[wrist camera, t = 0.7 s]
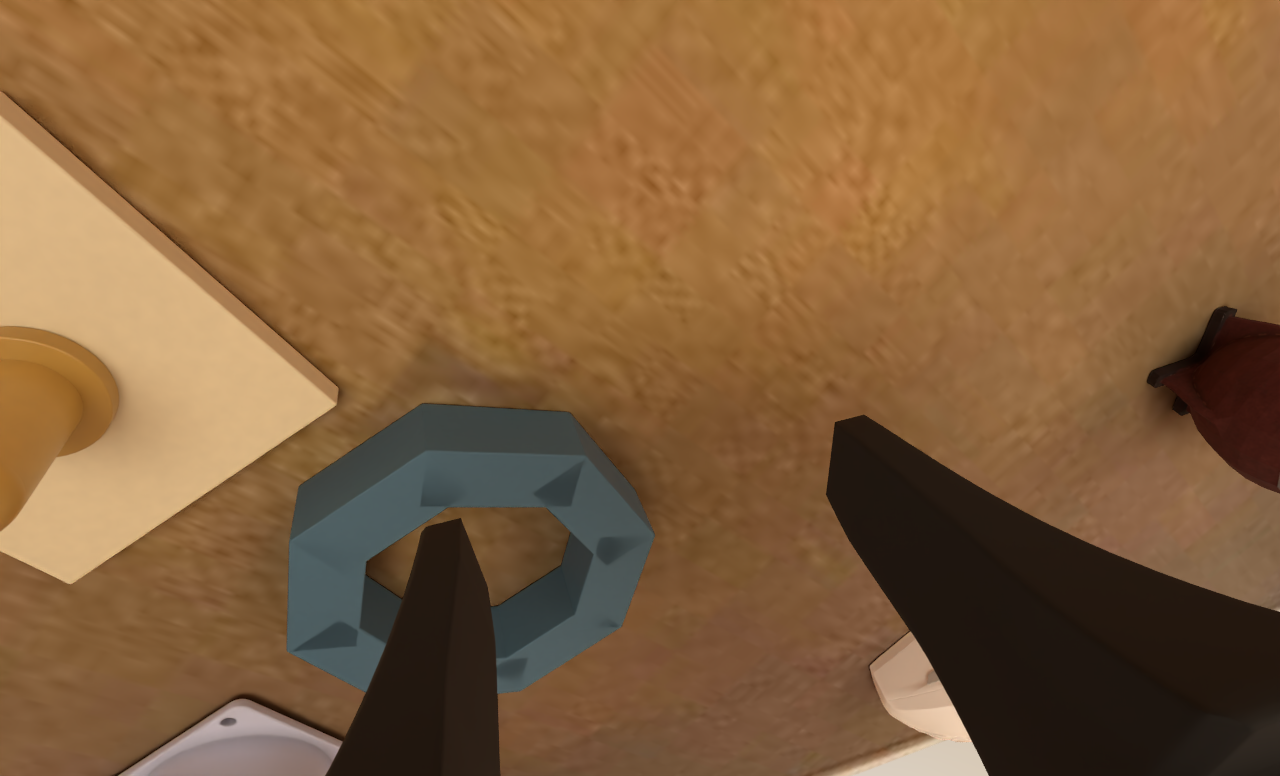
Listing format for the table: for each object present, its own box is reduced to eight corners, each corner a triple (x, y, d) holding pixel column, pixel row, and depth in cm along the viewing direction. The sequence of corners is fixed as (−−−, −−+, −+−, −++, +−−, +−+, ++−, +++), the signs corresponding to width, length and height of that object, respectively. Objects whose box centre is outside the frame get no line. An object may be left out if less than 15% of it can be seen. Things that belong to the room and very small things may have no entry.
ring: (445, 681, 29) (449, 737, 27) (213, 542, 22) (194, 604, 20) (673, 534, 29) (695, 580, 27) (511, 342, 21) (524, 385, 19)
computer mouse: (852, 674, 40) (917, 777, 35) (1027, 536, 38) (1124, 625, 33) (897, 698, 44) (962, 795, 39) (1059, 574, 41) (1151, 660, 36)
